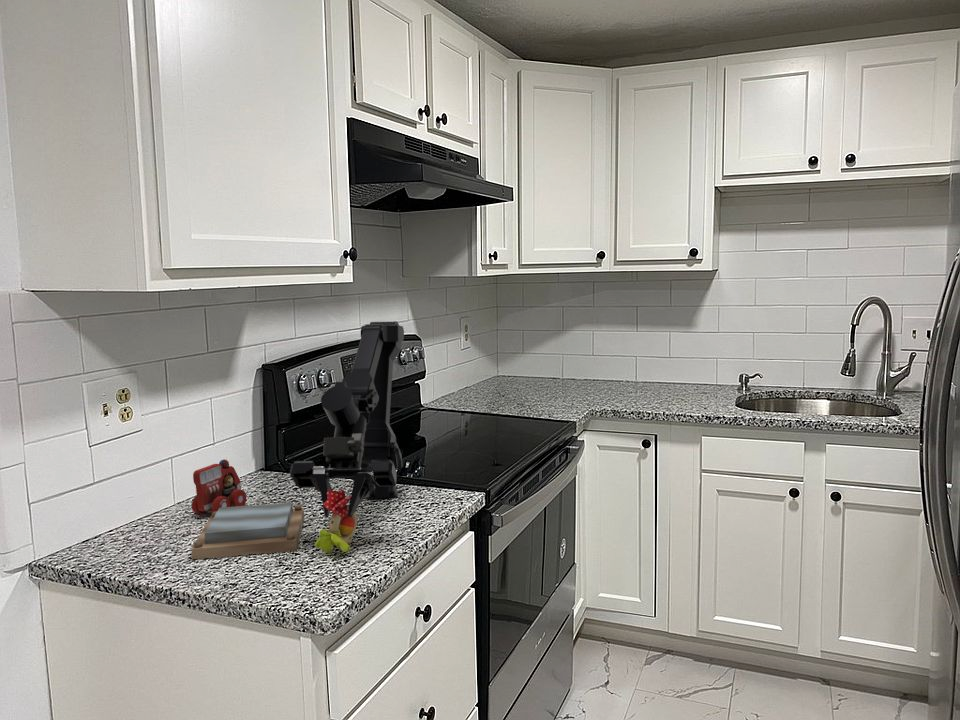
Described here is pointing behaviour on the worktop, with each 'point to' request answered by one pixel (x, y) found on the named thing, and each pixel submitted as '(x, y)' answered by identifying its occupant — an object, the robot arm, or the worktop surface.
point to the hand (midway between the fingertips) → (338, 516)
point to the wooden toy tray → (250, 531)
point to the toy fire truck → (217, 488)
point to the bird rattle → (337, 523)
